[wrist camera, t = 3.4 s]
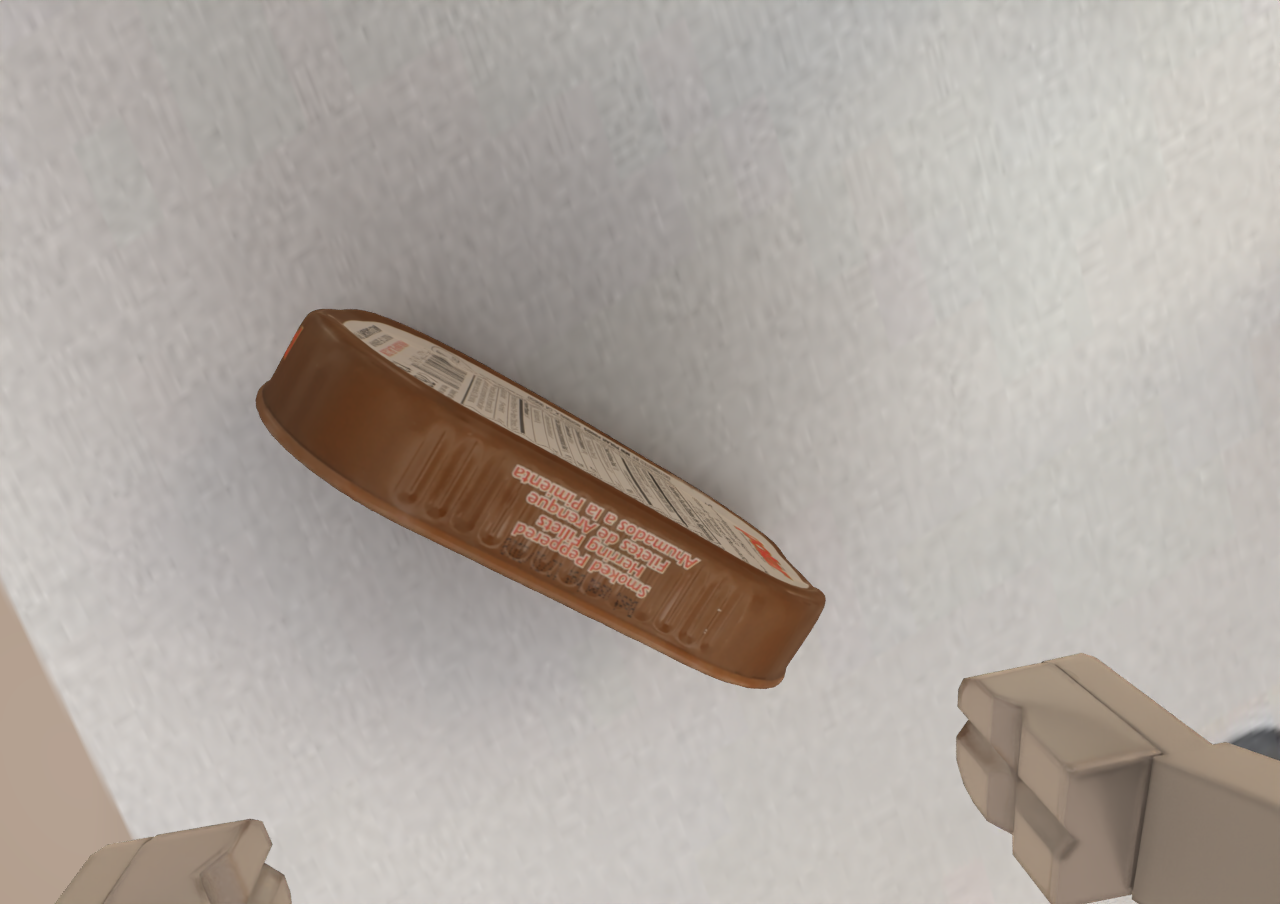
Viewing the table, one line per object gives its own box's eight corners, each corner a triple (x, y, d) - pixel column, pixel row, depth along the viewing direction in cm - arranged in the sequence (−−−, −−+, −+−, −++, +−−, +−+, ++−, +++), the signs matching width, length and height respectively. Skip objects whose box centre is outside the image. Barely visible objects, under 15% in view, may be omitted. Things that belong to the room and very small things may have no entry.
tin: (316, 366, 20) (164, 450, 12) (366, 272, 19) (243, 294, 11) (725, 585, 24) (819, 757, 16) (776, 513, 23) (899, 654, 15)
